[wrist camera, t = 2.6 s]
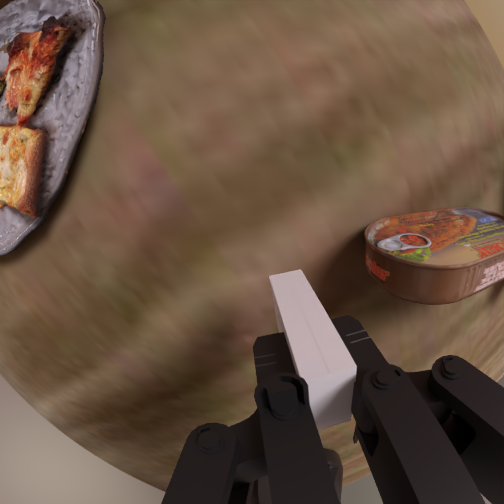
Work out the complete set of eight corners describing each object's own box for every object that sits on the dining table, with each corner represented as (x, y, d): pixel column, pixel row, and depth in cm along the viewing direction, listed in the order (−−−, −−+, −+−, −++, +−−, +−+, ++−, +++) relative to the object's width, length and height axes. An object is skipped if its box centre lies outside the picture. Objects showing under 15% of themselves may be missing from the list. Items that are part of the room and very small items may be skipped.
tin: (477, 204, 18) (544, 227, 10) (475, 236, 19) (538, 266, 11) (343, 222, 18) (416, 266, 10) (344, 264, 19) (408, 327, 11)
